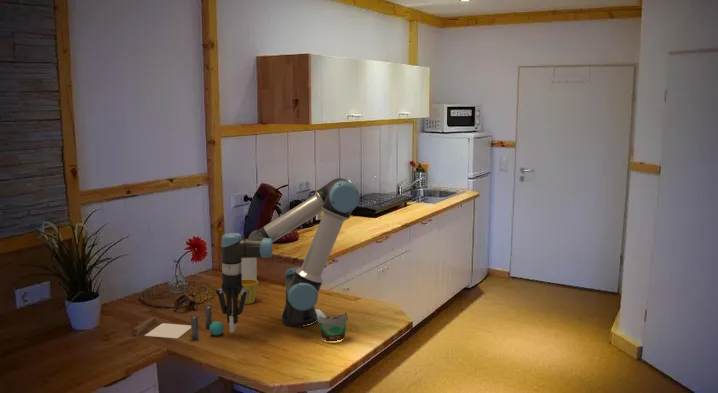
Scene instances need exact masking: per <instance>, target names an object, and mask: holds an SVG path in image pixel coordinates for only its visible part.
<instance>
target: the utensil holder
mask: <svg viewBox="0 0 718 393" xmlns="http://www.w3.org/2000/svg"><path fill="white" fill-rule="evenodd" d="M257 263H258V258H242V272H241V274H242V280H243V279H254V280H257V278H258V264H257ZM257 281H258V280H257Z"/></svg>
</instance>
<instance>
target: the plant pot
mask: <svg viewBox="0 0 718 393" xmlns="http://www.w3.org/2000/svg"><path fill="white" fill-rule="evenodd" d="M259 285H260V284H259V280H254V279H243V280H242V286H243V289H244V290H248V291H249V292H248V294H247V296H246V299H245V303H244V305H250V304H253V303H255V301H256V296H257V292H258V291H257V290H259ZM241 293H242V292H240V293H239V295H238V300H239V301H240V300H241V296H242V295H241Z"/></svg>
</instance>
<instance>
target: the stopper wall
mask: <svg viewBox="0 0 718 393" xmlns="http://www.w3.org/2000/svg"><path fill="white" fill-rule="evenodd" d="M156 318H157V317H156V316H154V317H153V316H150V317H149V318H148V319H145V320H144V321H142V322H141V323H140V324H138V325H136V326H135V327H134V328H132V336H139V335H140V334H142V333H143V332H144V331H145V332H146V330H148V329H149V328H151V327H152V326H154V325H156V323H157V321H156V320H157V319H156Z"/></svg>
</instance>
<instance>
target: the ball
mask: <svg viewBox="0 0 718 393" xmlns="http://www.w3.org/2000/svg"><path fill="white" fill-rule="evenodd" d="M224 329H225V327H224V324H223V323H222V322H221V321H218V320H216V321H212V324H211V325H210V329H209V332H210V334H212V336H220V335H221V334H222V333H224Z"/></svg>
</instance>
